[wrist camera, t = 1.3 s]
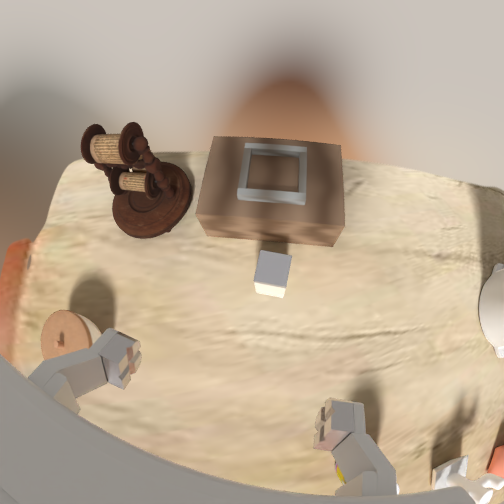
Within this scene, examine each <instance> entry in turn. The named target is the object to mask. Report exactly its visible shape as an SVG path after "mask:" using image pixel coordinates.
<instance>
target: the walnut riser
mask: <svg viewBox="0 0 504 504" xmlns="http://www.w3.org/2000/svg"><path fill="white" fill-rule="evenodd" d="M196 216H197V218H198V220H199V221H200V223H201V225H202V227H203V229H204V231H205V233H206V235H207V236H213V237H226V238H238V239H250V240H262V241H273V242H285V243H296V244H307V245H318V246H329V247H333V245H334V244H335V242H336V240H337V239H338V237H339V235H340V234H341V232H342V230H343V228H344V227H345V212H344V188H343V171H342V157H341V145H334V144H326V143H317V142H308V141H298V140H285V139H272V138H254V137H215V136H214V138H213V142H212V146H211V149H210V153H209V157H208V161H207V165H206V170H205V174H204V178H203V182H202V187H201V191H200V196H199V200H198V205H197V209H196Z"/></svg>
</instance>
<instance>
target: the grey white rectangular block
mask: <svg viewBox="0 0 504 504" xmlns="http://www.w3.org/2000/svg"><path fill="white" fill-rule="evenodd" d="M291 258H292V256H290V255H285V254H280V253H275V252H269V251H264V250H260V254H259V259H258V263H257V268H256V272H255V277H254V284H255V289H256V293H260V294H265V295H270V296H275V297H281V298H283V296H284V292H285V289H286V285H287V280H288V275H289V269H290V264H291Z"/></svg>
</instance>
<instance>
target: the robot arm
mask: <svg viewBox="0 0 504 504" xmlns="http://www.w3.org/2000/svg"><path fill="white" fill-rule="evenodd" d="M479 316H480V323H481V327H482V330H483V333H484V335H485V337H486V338H487V340H488V341H489V342H490V343H491V344H492V345H493V347H494V349H495V352H496V355H497V357H498V358H503V357H504V265H503V264H501V263H498V264H495V266H494V269H493V272H492V275H491V276H490V278H489V279H488V280H487V281H486V283H485V284H484V286H483V289H482V292H481V296H480V302H479ZM140 347H141V345H140V341H138V340H136V339H134V338H132V337H129V336H127V335H125V334H123V333H121V332H119V331H117V330H115V329H113V328H111V327H110V328H108V329H106V331H105V332H104V333H103V334H102V335H101V336H100V337H99V338H98V339H97V340H96V341H95V343H94V344H93V345H92V346H91V347H90V348H89V349H87V348H84V349H81V350H78V351H75V352H71V353H68V354H65V355H61V356H58V357H55V358H51V359H48V360H44V361H43V362H42V363H41V364H40V365H39V366H38V367H37V368H36V369H35V370H34V372H33V373H32V374H31V375H30V376H29V377H28V378H27V377H26V376H24V375H23V374H22V373H21V372H20V371H19V370H17V369H16V368H15V367H14V366H13V365H12V364H11V363H9V362H8V361H7V360H6V359H5V358H4V357H3V356H2V355H1V354H0V504H476V503H475V501H474V500H473V498H472V497H471V496H470V495H469V494H468V493H467V491H466V490H465V489H463V488H462V487H461V486H452V487H447V488H442V489H437V490H431V491H424V492H417V493H409V494H399V495H397V487H396V470H395V469H394V468H393V466H392V465H391V464H390V462H389V461H388V460H387V458H386V457H385V455H384V454H383V453H382V451H381V450H380V449H379V447H378V446H377V445H376V443H375V442H374V441H373V439H372V438H371V436H370V435H369V434H366V427H365V414H364V405H363V403H360V402H353V401H348V400H341V399H335V398H329V399H327V401H326V402H325V407H322V408H321V409H320V411H319V412H318V415H317V417H316V422H315V428H316V430H317V431H318V432H317V433H316V434H315V435H314V446H313V448H314V449H320V450H327V451H332V452H331V453H332V455H333V457H334V459H335V461H336V463H337V465H338V467H339V469H340V470H341V472H342V474H343V476H344V478H345V480H346V482H347V483H346V484H345V485H343V486H341V487H340V488H338V489H337V490H336V491H335V496H328V495H314V494H304V493H295V492H288V491H281V490H275V489H269V488H264V487H258V486H254V485H249V484H244V483H240V482H236V481H232V480H228V479H224V478H221V477H217V476H214V475H210V474H207V473H204V472H201V471H197V470H194V469H191V468H189V467H186V466H183V465H180V464H177V463H175V462H172V461H169V460H167V459H164V458H162V457H159V456H157V455H155V454H152V453H150V452H148V451H145V450H143V449H141V448H139V447H137V446H135V445H132V444H130V443H128V442H126V441H124V440H122V439H120V438H118V437H116V436H115V435H113V434H111V433H109V432H107V431H105V430H103V429H102V428H100V427H98V426H96V425H95V424H93V423H91V422H90V421H88V420H86V419H85V418H83V417H81V416H80V415H78V413H79V411H80V406H79V404H78V402H77V400H76V398H78V397H80V396H82V395H84V394H86V393H88V392H90V391H92V390H94V389H97V388H99V387H101V386H103V385H105V384H107V383H108V382H109V383H111V384H113V385H115V386H117V387H119V388H121V389H123V390H124V389H125V387H126V386H127V384H128V383H129V382H130V380H131V377H130V374H133V373H136V371H137V370H138V368H139V366H140V363H141V358H142V357H141V353H140V351H139V348H140Z"/></svg>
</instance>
